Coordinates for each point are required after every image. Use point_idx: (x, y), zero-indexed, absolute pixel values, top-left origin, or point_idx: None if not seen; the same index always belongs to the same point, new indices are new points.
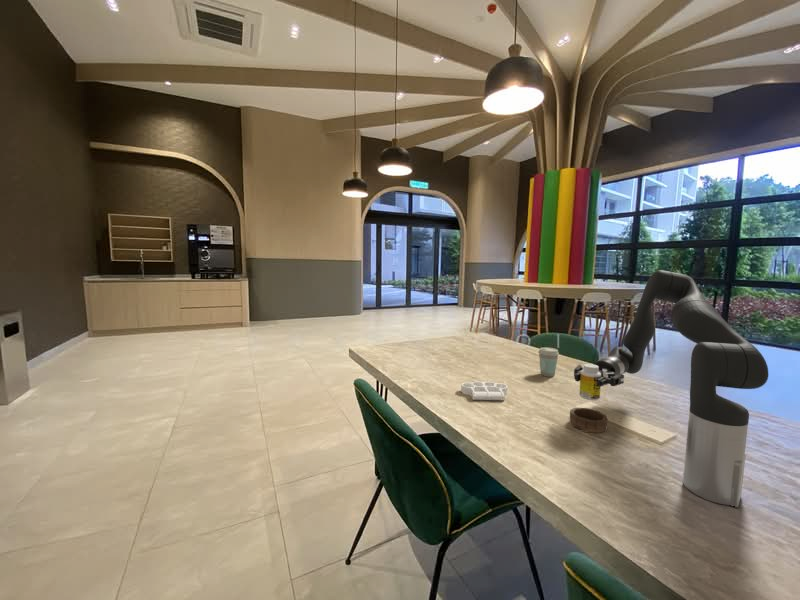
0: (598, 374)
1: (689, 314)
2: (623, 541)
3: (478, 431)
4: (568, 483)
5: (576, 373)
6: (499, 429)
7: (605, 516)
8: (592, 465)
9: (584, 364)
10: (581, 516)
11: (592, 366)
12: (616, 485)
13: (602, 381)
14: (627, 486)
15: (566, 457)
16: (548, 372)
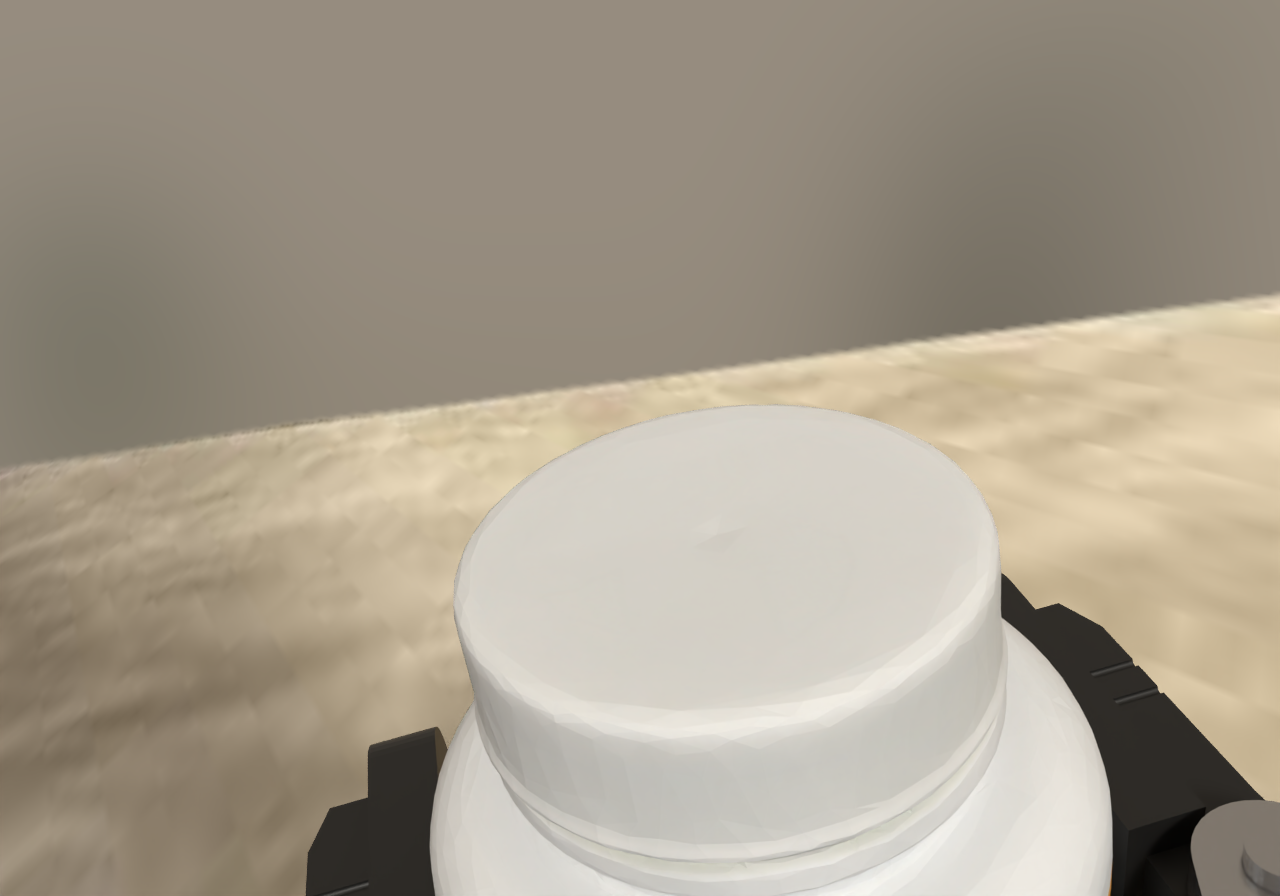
0: (453, 756)
1: None
2: (52, 489)
3: (1030, 389)
4: (342, 516)
5: (1172, 705)
6: (1030, 485)
7: (132, 513)
8: (316, 719)
9: (948, 460)
10: (211, 454)
11: (627, 516)
12: (129, 690)
13: (325, 821)
14: (69, 735)
15: None
16: None
